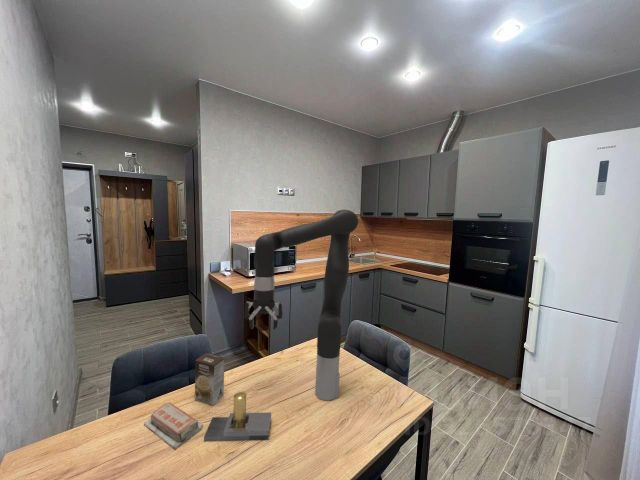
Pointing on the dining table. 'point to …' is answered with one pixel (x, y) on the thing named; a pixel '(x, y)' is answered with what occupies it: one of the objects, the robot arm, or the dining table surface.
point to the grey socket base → (254, 431)
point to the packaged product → (173, 425)
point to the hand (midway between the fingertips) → (263, 328)
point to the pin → (239, 410)
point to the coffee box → (209, 378)
